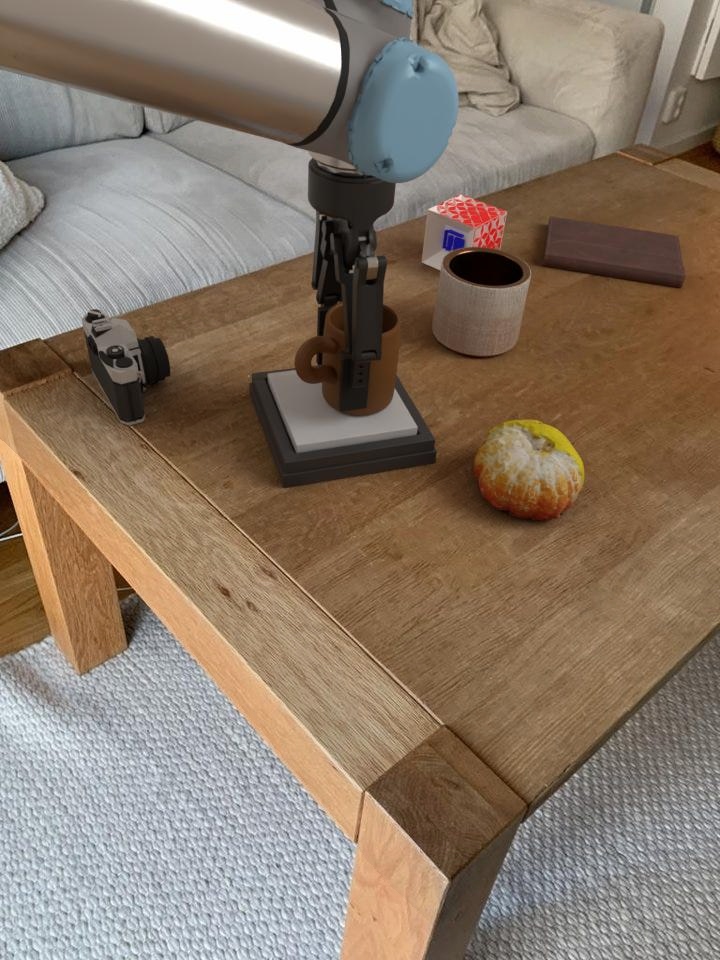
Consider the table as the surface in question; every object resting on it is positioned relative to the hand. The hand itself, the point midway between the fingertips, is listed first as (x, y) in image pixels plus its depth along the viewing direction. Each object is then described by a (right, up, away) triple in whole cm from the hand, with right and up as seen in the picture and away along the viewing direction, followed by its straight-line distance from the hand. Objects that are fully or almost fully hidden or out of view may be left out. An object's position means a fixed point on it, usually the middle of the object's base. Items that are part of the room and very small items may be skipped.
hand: (340, 383), depth 84 cm
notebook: (+40, +24, +40) cm, 61 cm away
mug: (0, -2, +1) cm, 2 cm away
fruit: (+18, -11, -2) cm, 21 cm away
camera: (-23, 0, +7) cm, 24 cm away
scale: (0, -4, +4) cm, 6 cm away
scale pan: (0, -3, +2) cm, 3 cm away
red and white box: (+16, +21, +35) cm, 44 cm away
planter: (+16, +8, +20) cm, 27 cm away
